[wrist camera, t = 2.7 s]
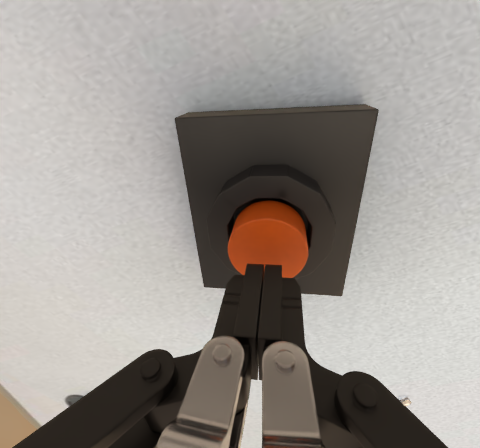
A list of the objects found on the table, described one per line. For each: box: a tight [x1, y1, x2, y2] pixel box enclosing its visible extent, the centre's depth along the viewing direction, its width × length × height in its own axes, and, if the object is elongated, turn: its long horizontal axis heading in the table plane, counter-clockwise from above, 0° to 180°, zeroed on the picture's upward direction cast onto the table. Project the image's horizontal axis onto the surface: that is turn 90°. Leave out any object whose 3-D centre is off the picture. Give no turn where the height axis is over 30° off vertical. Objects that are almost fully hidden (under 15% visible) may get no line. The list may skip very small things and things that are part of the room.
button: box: [228, 200, 308, 278], centre depth 13 cm, size 4×4×2 cm
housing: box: [175, 104, 378, 296], centre depth 16 cm, size 12×10×4 cm
